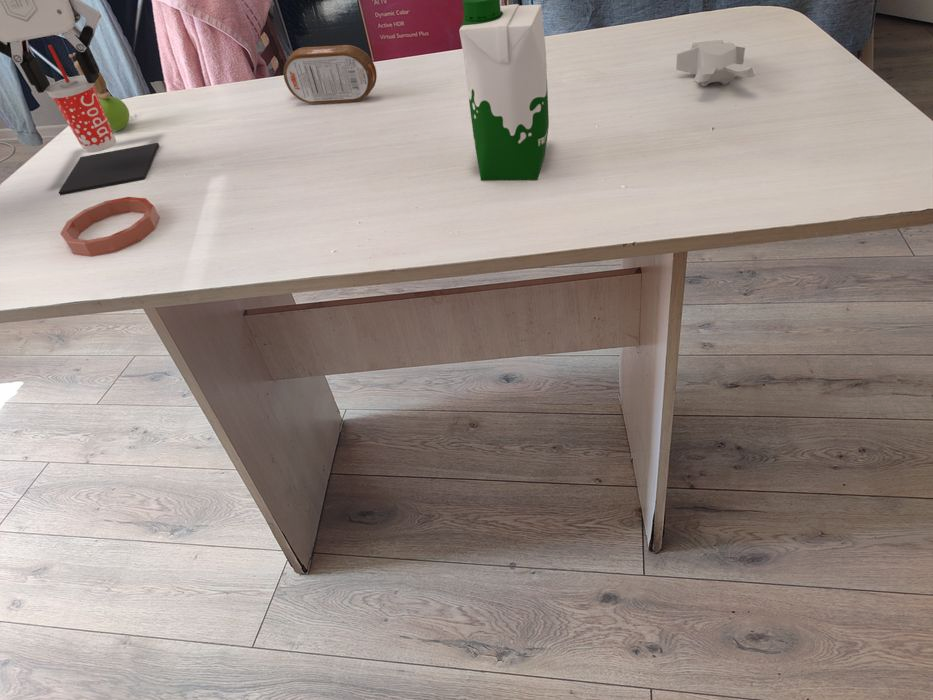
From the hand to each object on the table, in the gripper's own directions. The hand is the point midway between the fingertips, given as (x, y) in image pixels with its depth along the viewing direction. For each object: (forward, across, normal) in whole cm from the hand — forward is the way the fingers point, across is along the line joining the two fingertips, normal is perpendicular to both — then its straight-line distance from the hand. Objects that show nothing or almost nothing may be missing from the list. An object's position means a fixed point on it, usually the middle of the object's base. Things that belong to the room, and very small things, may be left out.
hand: (68, 83), depth 92 cm
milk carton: (+13, +56, -24) cm, 62 cm away
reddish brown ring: (+13, +6, -23) cm, 27 cm away
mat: (+13, 0, 0) cm, 13 cm away
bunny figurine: (+13, +89, -9) cm, 90 cm away
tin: (+13, +34, +11) cm, 38 cm away
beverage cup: (+9, 0, 0) cm, 9 cm away
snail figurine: (+13, -3, +17) cm, 22 cm away
